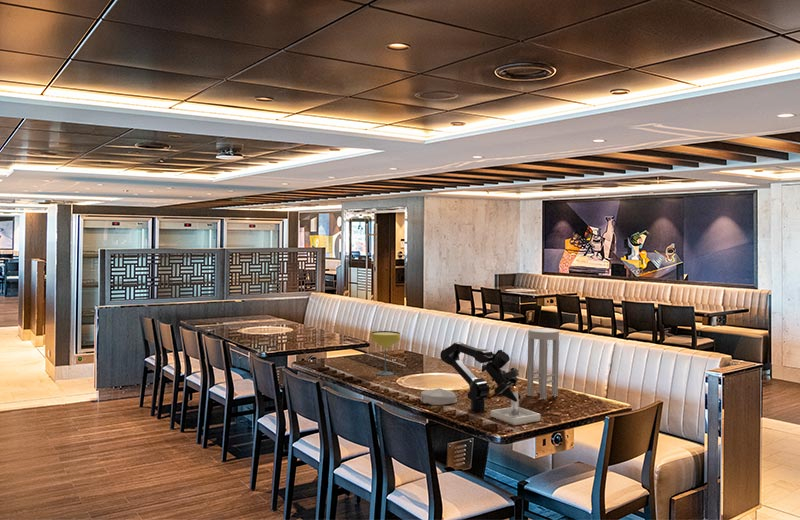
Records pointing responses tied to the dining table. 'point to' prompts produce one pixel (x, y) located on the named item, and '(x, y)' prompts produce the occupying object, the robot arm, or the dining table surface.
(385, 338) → the cocktail glass
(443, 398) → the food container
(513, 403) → the pin
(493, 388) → the kendama
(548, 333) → the stool
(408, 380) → the dining table surface
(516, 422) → the pin tray
